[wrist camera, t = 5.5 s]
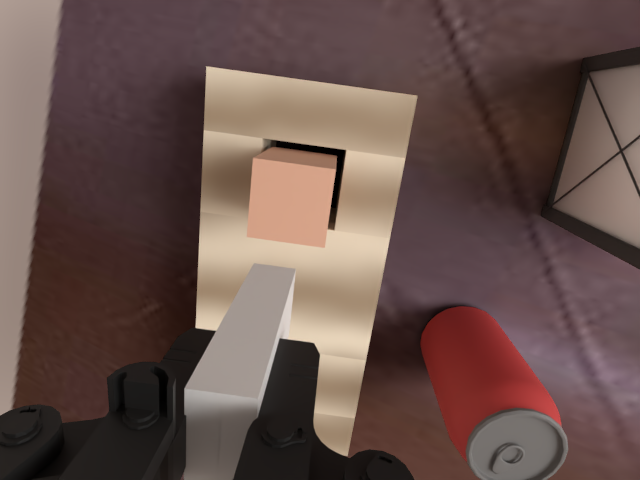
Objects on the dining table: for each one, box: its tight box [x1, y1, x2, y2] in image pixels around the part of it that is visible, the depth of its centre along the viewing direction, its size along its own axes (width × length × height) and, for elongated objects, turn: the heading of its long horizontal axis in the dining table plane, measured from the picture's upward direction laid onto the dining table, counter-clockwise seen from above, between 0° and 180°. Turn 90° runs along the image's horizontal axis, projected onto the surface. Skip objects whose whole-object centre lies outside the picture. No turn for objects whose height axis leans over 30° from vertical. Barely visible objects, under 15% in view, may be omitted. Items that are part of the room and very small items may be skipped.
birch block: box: [196, 66, 418, 456], centre depth 30 cm, size 26×12×6 cm, turn 172°
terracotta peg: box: [247, 147, 337, 248], centre depth 23 cm, size 4×4×6 cm
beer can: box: [420, 306, 568, 480], centre depth 29 cm, size 7×7×12 cm
